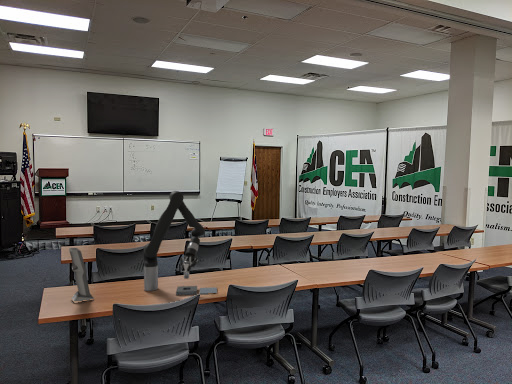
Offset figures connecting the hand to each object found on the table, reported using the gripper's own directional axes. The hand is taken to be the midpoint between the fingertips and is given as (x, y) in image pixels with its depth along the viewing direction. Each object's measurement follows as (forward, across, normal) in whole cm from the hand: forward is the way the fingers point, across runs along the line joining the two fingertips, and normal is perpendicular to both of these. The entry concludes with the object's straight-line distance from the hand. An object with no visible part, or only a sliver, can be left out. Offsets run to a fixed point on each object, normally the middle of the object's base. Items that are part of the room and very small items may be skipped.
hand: (185, 270), depth 264 cm
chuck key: (+2, 0, +5) cm, 6 cm away
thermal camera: (+31, -61, -8) cm, 69 cm away
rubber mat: (+6, +14, +16) cm, 22 cm away
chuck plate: (+10, 0, +13) cm, 16 cm away
